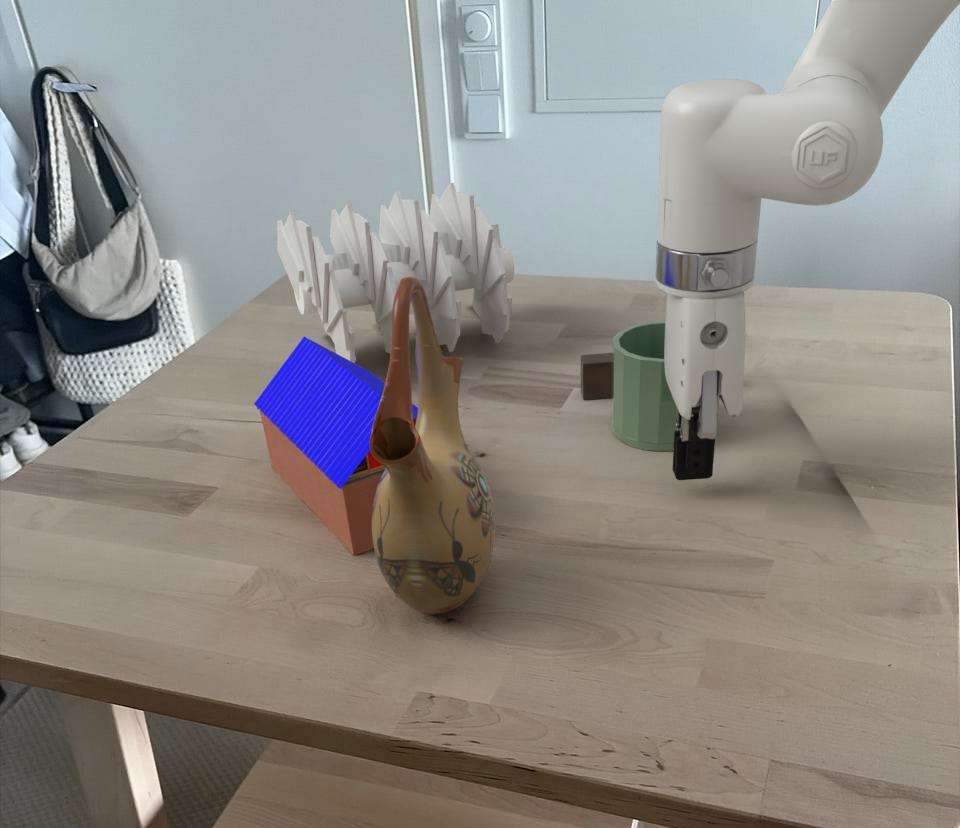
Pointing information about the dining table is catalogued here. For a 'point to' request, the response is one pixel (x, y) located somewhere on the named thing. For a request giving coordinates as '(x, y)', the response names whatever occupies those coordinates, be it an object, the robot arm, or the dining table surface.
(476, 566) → the ceramic vessel
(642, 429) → the bucket
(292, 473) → the house
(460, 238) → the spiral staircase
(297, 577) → the dining table surface
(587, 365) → the block
